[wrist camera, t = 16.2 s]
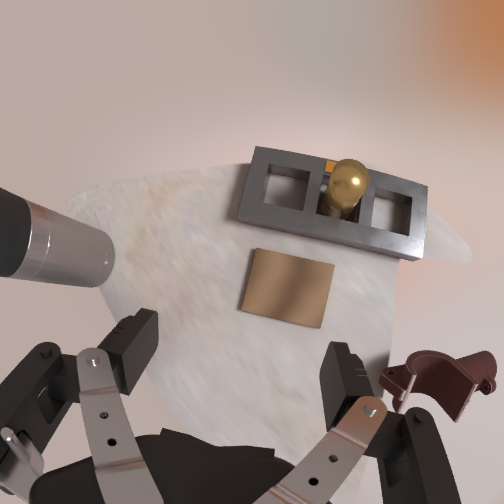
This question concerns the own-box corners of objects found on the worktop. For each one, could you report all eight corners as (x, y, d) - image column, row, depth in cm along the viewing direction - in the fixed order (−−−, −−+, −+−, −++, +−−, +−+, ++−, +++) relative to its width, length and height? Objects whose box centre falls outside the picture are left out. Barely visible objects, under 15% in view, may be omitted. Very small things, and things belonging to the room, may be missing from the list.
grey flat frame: (240, 222, 38) (236, 215, 35) (258, 156, 39) (255, 144, 36) (413, 261, 34) (423, 258, 31) (419, 193, 36) (428, 185, 32)
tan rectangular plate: (242, 309, 36) (241, 310, 35) (257, 249, 37) (256, 247, 36) (319, 327, 35) (320, 328, 34) (333, 266, 36) (334, 265, 35)
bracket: (383, 354, 31) (424, 403, 21) (471, 336, 32) (512, 367, 22) (371, 392, 32) (404, 443, 22) (458, 369, 33) (494, 403, 24)
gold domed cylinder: (318, 216, 37) (328, 189, 27) (324, 189, 38) (335, 154, 28) (348, 224, 36) (367, 199, 27) (353, 196, 37) (371, 164, 27)
